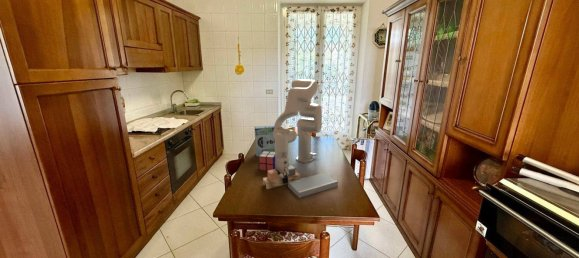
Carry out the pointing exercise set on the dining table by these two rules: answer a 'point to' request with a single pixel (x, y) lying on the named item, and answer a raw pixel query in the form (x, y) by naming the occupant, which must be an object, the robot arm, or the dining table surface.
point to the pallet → (280, 180)
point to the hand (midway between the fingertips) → (281, 179)
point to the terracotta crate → (272, 175)
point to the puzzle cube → (267, 161)
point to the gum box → (264, 139)
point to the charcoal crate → (291, 170)
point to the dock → (312, 184)
